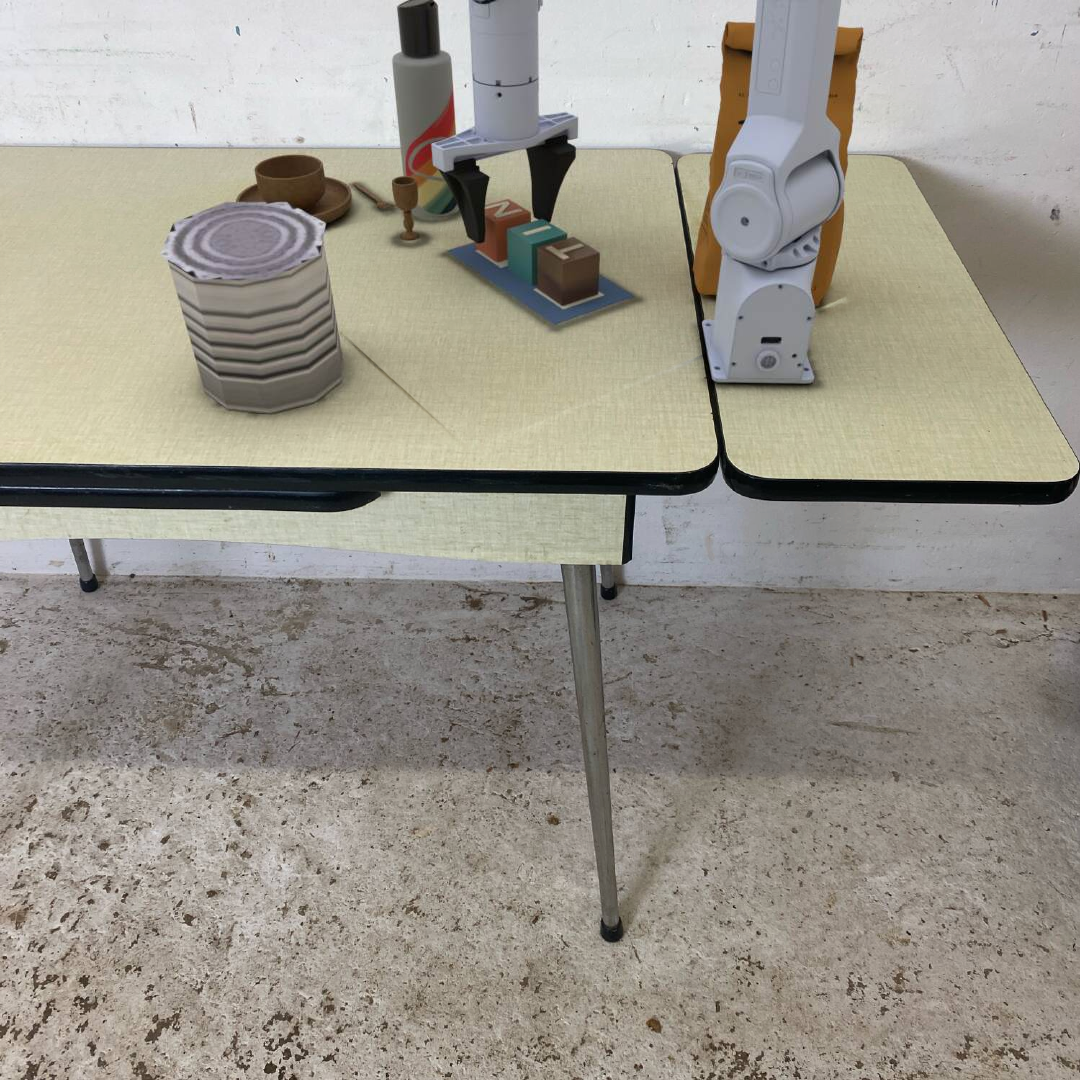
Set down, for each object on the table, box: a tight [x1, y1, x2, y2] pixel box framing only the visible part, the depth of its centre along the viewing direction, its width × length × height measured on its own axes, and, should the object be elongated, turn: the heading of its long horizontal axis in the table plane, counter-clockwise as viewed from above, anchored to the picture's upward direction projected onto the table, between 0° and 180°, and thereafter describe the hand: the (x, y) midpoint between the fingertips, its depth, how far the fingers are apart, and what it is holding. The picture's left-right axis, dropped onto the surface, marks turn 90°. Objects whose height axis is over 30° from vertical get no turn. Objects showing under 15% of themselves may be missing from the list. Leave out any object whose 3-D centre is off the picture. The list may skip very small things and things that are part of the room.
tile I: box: [507, 219, 568, 285], centre depth 87 cm, size 4×4×4 cm
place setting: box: [235, 154, 421, 242], centre depth 96 cm, size 18×20×6 cm
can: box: [159, 201, 344, 415], centre depth 72 cm, size 11×11×12 cm
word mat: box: [446, 241, 636, 326], centre depth 89 cm, size 18×9×1 cm, turn 35°
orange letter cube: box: [475, 198, 532, 262], centre depth 91 cm, size 4×4×4 cm
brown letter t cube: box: [537, 236, 601, 306], centre depth 84 cm, size 4×4×4 cm
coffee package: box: [692, 20, 864, 308], centre depth 80 cm, size 10×12×22 cm
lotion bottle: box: [391, 0, 460, 219], centre depth 94 cm, size 6×6×20 cm
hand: (509, 229), depth 90 cm, fingers open, 7 cm apart
